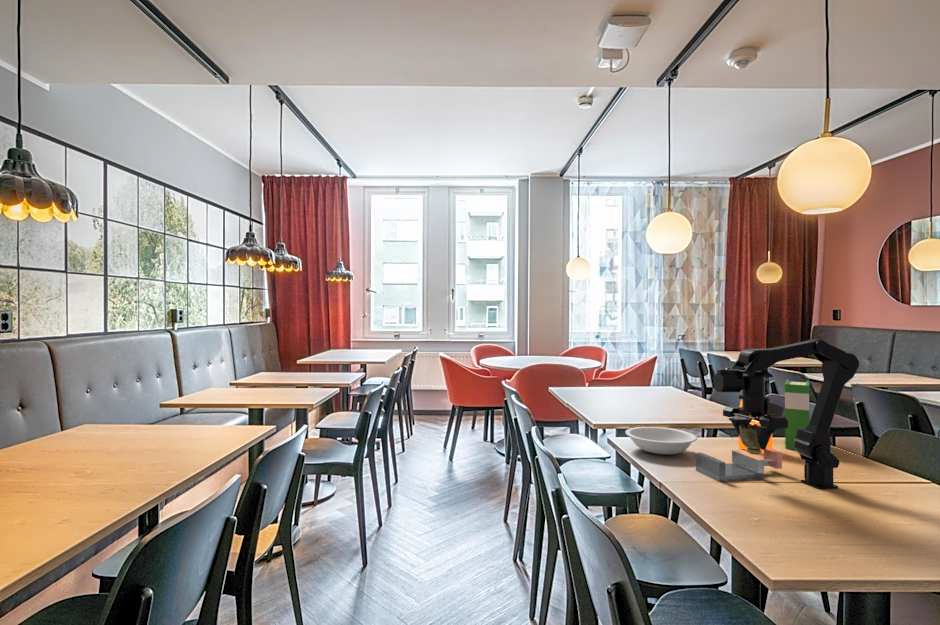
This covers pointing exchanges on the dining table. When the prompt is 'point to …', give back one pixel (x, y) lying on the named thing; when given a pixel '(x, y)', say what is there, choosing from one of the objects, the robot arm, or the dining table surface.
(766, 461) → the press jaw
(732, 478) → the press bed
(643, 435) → the soup bowl
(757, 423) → the orange juice
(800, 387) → the hardback book
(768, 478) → the dining table surface
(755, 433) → the ornate bronze lampshade
